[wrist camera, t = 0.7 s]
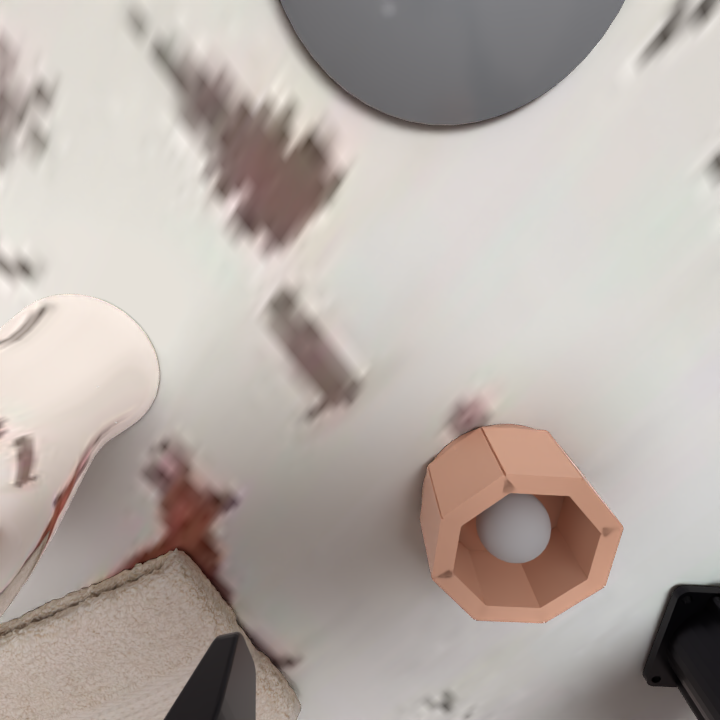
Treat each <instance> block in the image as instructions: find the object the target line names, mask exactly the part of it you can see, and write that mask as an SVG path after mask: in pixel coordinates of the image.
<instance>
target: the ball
mask: <svg viewBox="0 0 720 720" xmlns="http://www.w3.org/2000/svg"><path fill="white" fill-rule="evenodd" d="M476 529H477V533H478V536H479V539H480V541H481V542H482V544H483V546H484V547H485V548H486V549H487V550H488V551H489V552H490V553H491V554H492V555H493V556H495V557H496V558H498V559H500V560H502V561H505V562H509V563H525V562H528V561H531V560H533V559H535V558H536V557H538V556H539V555H540V554H541V553H542V552H543V551H544V550H545V548H546V546H547V544H548V542H549V539H550V535H551V523H550V518H549V515H548V513H547V511H546V509H545V507H544V506H543V504H542V503H541V502H540V501H539V500H538V499H537V498H536V497H535V496H534V495H532V494H519V493H509V494H508V495H506V496H505V497H503V498H502V499H501V500H499V501H498V502H496V503H495V504H493V505H492V506H490V507H489V508H487V509H486V510H484V511H483V512H481V513H480V514H478V515H477V516H476Z"/></svg>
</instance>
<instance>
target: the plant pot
mask: <svg viewBox="0 0 720 720" xmlns="http://www.w3.org/2000/svg"><path fill="white" fill-rule="evenodd" d="M509 493H519V494H532V495H534V496H535V497H536V498H537V499H538V500H539V501H540V502H541V503H542V504H543V506H544V507H545V509H546V511H547V513H548V515H549V518H550V523H551V535H550V539H549V542H548V544H547V546H546V548H545V550H544V551H543V552H542V553H541V554H540V555H539V556H538V557H536V558H535V559H533V560H531V561H528V562H525V563H509V562H505V561H502V560H500V559H498V558H496V557H495V556H493V555H492V554H491V553H490V552H489V551H488V550H487V549H486V548H485V547H484V546H483V544H482V542H481V541H480V539H479V536H478V533H477V529H476V516H477V515H478V514H480V513H481V512H483V511H484V510H486V509H487V508H489V507H490V506H492V505H493V504H495V503H496V502H498V501H499V500H501V499H502V498H503V497H505V496H506V495H508V494H509ZM420 523H421V528H422V533H423V538H424V543H425V548H426V553H427V558H428V563H429V568H430V573H431V577H432V580H433V581H434V582H435V583H436V584H437V585H438V586H439V587H441V588H442V589H443V590H444V591H445V592H446V593H447V594H448V595H449V596H450V597H451V598H452V599H453V600H454V601H455V602H456V603H457V604H458V605H459V606H460V607H461V608H462V609H463V610H465V611H466V612H467V613H468V614H469V615H470V616H471V617H472V618H473V619H474V620H475V619H476V621H500V622H524V623H543V622H545V623H546V622H547V621H549V620H551V619H552V618H554V617H556V616H557V615H559V614H561V613H562V612H564V611H566V610H567V609H569V608H571V607H572V606H574V605H576V604H577V603H579V602H581V601H582V600H584V599H586V598H587V597H589V596H591V595H592V594H594V593H596V592H597V591H599V590H600V589H602V588H604V586H606V583H607V579H608V576H609V573H610V570H611V567H612V563H613V560H614V557H615V554H616V551H617V547H618V544H619V541H620V538H621V535H622V532H623V526H622V524H621V523H620V522H619V520H618V519H617V518H616V516H615V515H614V514H613V513H612V511H611V510H610V509H609V507H608V506H607V505H606V503H605V502H604V501H603V500H602V498H601V497H600V496H599V494H598V493H597V492H596V490H595V489H594V488H593V486H592V485H591V484H590V483H589V481H588V480H587V479H586V477H585V476H584V475H583V473H582V472H581V471H580V470H579V469H578V467H577V466H576V465H575V464H574V462H573V461H572V460H571V459H570V458H569V456H568V455H567V454H566V453H565V451H564V450H563V449H562V447H561V446H560V445H559V444H558V443H557V442H556V441H555V439H554V438H553V437H552V436H551V434H550V433H549V432H547V431H546V430H536V429H533V428H530V427H526V426H522V425H514V424H498V425H490V426H486V427H481V428H478V429H475V430H472V431H470V432H468V433H466V434H464V435H462V436H460V437H458V438H457V439H455V440H454V441H452V442H451V443H450V444H448V445H447V446H446V447H445V448H444V449H443V450H442V451H441V452H440V453H439V454H438V455H437V456H436V458H435V459H434V460H433V462H431V463H430V464H429V465H428V466H427V471H426V475H425V478H424V482H423V486H422V506H421V513H420Z"/></svg>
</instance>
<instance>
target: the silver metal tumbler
mask: <svg viewBox="0 0 720 720" xmlns="http://www.w3.org/2000/svg"><path fill="white" fill-rule="evenodd" d="M158 386H159V364H158V359H157V356H156V353H155V350H154V348H153V346H152V344H151V342H150V340H149V338H148V337H147V335H146V334H145V332H144V331H143V330H142V328H141V327H140V326H139V325H138V324H137V323H136V322H135V321H134V320H133V319H132V318H131V317H130V316H128V315H127V314H126V313H125V312H123V311H122V310H120V309H119V308H117V307H116V306H114V305H112V304H110V303H108V302H106V301H103V300H101V299H98V298H95V297H91V296H86V295H80V294H59V295H53V296H48V297H45V298H42V299H40V300H37V301H35V302H33V303H31V304H30V305H28V306H26V307H25V308H24V309H22V310H21V311H20V312H18V313H17V314H16V315H15V316H13V317H12V318H11V319H10V320H9V321H8V322H7V323H5V324H4V325H3V326H2V327H1V328H0V617H1V616H2V615H3V613H4V612H5V611H6V609H7V608H8V606H9V605H10V604H11V602H12V601H13V600H14V598H15V597H16V596H17V594H18V593H19V591H20V590H21V589H22V587H23V586H24V585H25V583H26V582H27V580H28V579H29V577H30V575H31V574H32V572H33V570H34V569H35V567H36V565H37V564H38V562H39V560H40V558H41V557H42V555H43V553H44V552H45V550H46V548H47V547H48V545H49V543H50V542H51V540H52V538H53V536H54V535H55V533H56V531H57V529H58V527H59V525H60V523H61V521H62V519H63V517H64V515H65V513H66V511H67V509H68V507H69V506H70V504H71V502H72V500H73V498H74V496H75V494H76V492H77V490H78V488H79V485H80V483H81V481H82V479H83V477H84V475H85V473H86V472H87V470H88V468H89V466H90V464H91V462H92V461H93V459H94V457H95V456H96V454H97V453H98V452H99V450H100V449H101V448H102V447H103V446H104V445H105V444H106V443H107V442H108V441H110V440H111V439H112V438H114V437H115V436H117V435H119V434H120V433H122V432H123V431H125V430H126V429H128V428H129V427H131V426H132V425H133V424H135V423H136V422H137V421H138V420H139V419H140V418H142V416H143V415H144V414H145V413H146V412H147V411H148V410H149V408H150V407H151V405H152V403H153V401H154V399H155V397H156V394H157V390H158Z"/></svg>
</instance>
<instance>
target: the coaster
mask: <svg viewBox="0 0 720 720" xmlns="http://www.w3.org/2000/svg"><path fill="white" fill-rule="evenodd" d="M280 1H281V4H282V6H283V9H284V11H285V13H286V15H287V17H288V19H289V21H290V23H291V25H292V27H293V28H294V30H295V32H296V34H297V36H298V37H299V39H300V40H301V42H302V43H303V45H304V46H305V48H306V49H307V51H308V52H309V54H310V55H311V56H312V58H313V59H314V60H315V61H316V62H317V63H318V65H319V66H320V67H321V68H322V69H323V70H324V71H325V73H326V74H327V75H328V76H329V77H330V78H331V79H332V80H334V81H335V82H336V83H337V84H338V85H339V86H340V87H342V88H343V89H344V90H345V91H346V92H347V93H349V94H350V95H352V96H353V97H355V98H356V99H358V100H360V101H361V102H363V103H364V104H366V105H367V106H369V107H371V108H374V109H376V110H378V111H380V112H382V113H384V114H386V115H389V116H392V117H395V118H398V119H401V120H405V121H408V122H413V123H420V124H426V125H451V126H453V125H461V124H468V123H475V122H479V121H483V120H486V119H490V118H493V117H497V116H500V115H503V114H505V113H507V112H510V111H512V110H514V109H517V108H519V107H521V106H524V105H525V104H527V103H529V102H530V101H532V100H534V99H536V98H537V97H539V96H541V95H542V94H544V93H546V92H547V91H548V90H550V89H551V88H552V87H553V86H555V85H556V84H557V83H559V82H560V81H561V80H563V79H564V78H565V77H566V76H567V75H568V74H569V73H570V72H571V71H572V70H574V69H575V68H576V67H577V66H578V65H579V64H580V63H581V62H582V61H583V60H584V59H585V58H586V57H587V55H588V54H589V53H590V52H591V50H592V49H593V48H594V47H595V46H596V44H597V43H598V42H599V41H600V39H601V38H602V37H603V36H604V34H605V32H606V31H607V29H608V28H609V26H610V25H611V23H612V22H613V20H614V19H615V17H616V16H617V14H618V13H619V11H620V9H621V7H622V5H623V3H624V1H625V0H280Z"/></svg>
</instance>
